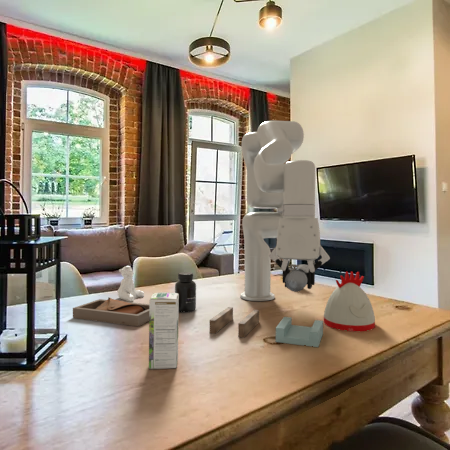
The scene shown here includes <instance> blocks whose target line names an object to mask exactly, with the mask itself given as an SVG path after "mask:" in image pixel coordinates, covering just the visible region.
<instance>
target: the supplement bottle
mask: <svg viewBox="0 0 450 450" xmlns="http://www.w3.org/2000/svg"><path fill="white" fill-rule="evenodd" d="M177 275H178V276H177V279H178V280H177V281H176V282H175V284H174V293H178V294H179V313H192V312H195V311H196V309H197V283H196V282H195V281H194V280H193V279H194V273H193V272H189V271H185V272H179V273H178V274H177Z"/></svg>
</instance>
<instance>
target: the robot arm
mask: <svg viewBox="0 0 450 450" xmlns="http://www.w3.org/2000/svg"><path fill="white" fill-rule="evenodd" d="M304 135H305V132H304V129H303V127H302V125H301V124H300V123H299V122H297V121H293V120H291V121H290V120H267V121H264V122H262V123H261V124H260V125H259V126H258V128H257V130H256V131H253V132H247V133H246V134H244V135H243V136H242V139H241V152H242V158H243V161H244V164H245V168H246V201H247V205H248V206H249V207H250V208H253V209H275V210H276V211H275V212H274V211H254V212H252V211H251V212H249V213H246V214H245V215H244V216H243V218H242V221H241V222H242V223H241V224H242V232H243V238H244V291H243V292H241V293H240V298H241V299H242V300H246V301H250V302H268V301H272V300H274V299H275V297H276V296H275V295H276V294H274V293H273V292H271V277H272V275H271V274H272V273H271V267H272V266H271V265H272V263H271V260H272V261H274V263H275V264H276V265H277V266H278V267H279V268H280V269H281V272H282V283H283V284H284V288H287V286H286V283H285V278H286V276H287V274H288V273H290V270H289V268H290V267H289V266H290V261H291V260H295V261H296V260H298V261H307V265H308V266H309V272H308V273H307V279H308V281H307V285H306V286H307V287H306V288H307V289H308V290H311V289H312V288H313V286H315V281H316V280H315V278H316V277H315V276H316V274H315V273H316V271H317V270H318V269H319V268H320V267H321V266H322V265H324V264H325V263H326V262H328V261H329V260H330V259H331V257H330V255H329V254H328V253H327V252H326V250H325V249H324V248H323V246H322V245H321V233H320V232H321V231H320V224H319V219H318V217H317V218H316V165H315V163H314V162H313V161H312V160H306V159H297V160H296V159H295V160H290V159H291V158H292V155H293V154H295V152H297V151H298V149H300V148H301V146H302V145H303V143H304V138H305V137H304ZM289 160H290V161H289ZM264 239H276V246H275V247H274V249H272V251H271V248H270V246H269V244H268V243H267V242H266V241H265V240H264ZM320 256H321V258H320V259H318V258H319V257H320ZM317 259H318V260H317ZM315 260H317V261H316V262H315Z"/></svg>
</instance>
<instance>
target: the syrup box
mask: <svg viewBox="0 0 450 450" xmlns="http://www.w3.org/2000/svg"><path fill="white" fill-rule="evenodd" d="M152 293H153V292H152ZM148 304H149V321H148V332H149V333H148V369H149V370H162V369H163V370H164V369H177V368H178V360H179V359H178V358H179V313H180V312H179V294H178V293H175V292H165V291H164V292H163V291H162V292H154V293H153V294H152V295H151V297H150V299H149V303H148Z"/></svg>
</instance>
